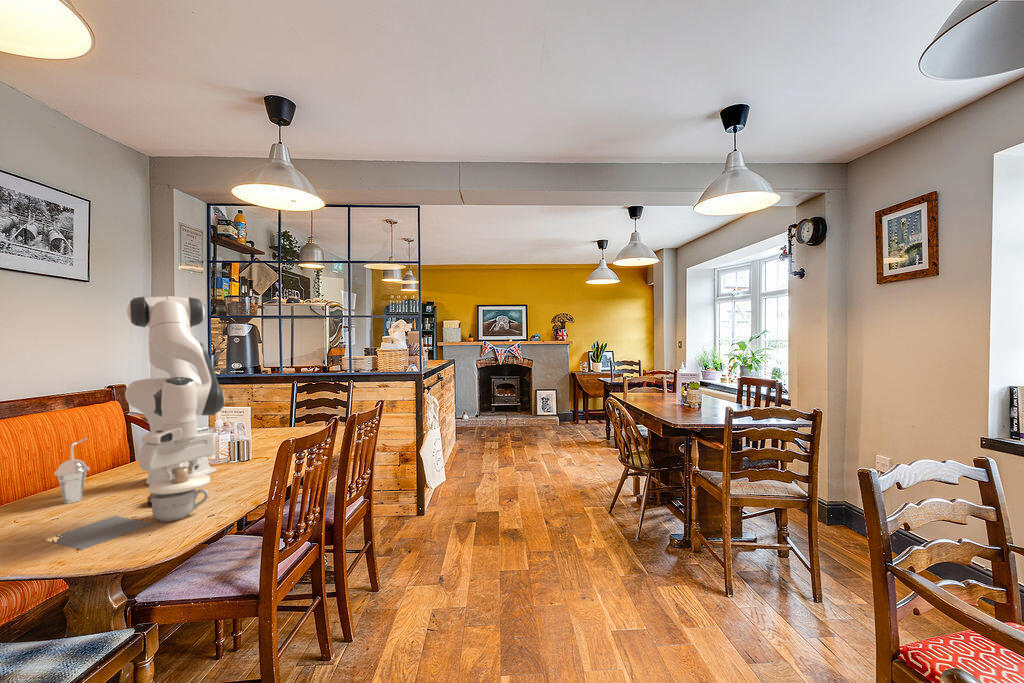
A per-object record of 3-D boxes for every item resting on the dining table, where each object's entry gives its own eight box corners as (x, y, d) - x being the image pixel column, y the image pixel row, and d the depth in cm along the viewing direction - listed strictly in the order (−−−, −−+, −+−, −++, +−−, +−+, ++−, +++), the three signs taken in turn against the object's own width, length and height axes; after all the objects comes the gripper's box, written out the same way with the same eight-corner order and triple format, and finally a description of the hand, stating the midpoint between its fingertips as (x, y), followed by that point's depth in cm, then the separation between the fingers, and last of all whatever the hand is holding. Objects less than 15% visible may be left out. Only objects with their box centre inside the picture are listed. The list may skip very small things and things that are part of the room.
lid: (187, 476, 146) (187, 460, 146) (221, 480, 141) (221, 464, 141) (136, 490, 132) (135, 473, 132) (171, 496, 127) (171, 478, 127)
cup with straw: (49, 503, 148) (48, 442, 148) (84, 494, 156) (84, 437, 156) (61, 507, 144) (60, 445, 144) (97, 498, 153) (96, 439, 152)
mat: (115, 517, 136) (115, 516, 136) (153, 525, 131) (153, 523, 131) (41, 541, 120) (41, 539, 120) (81, 551, 115) (81, 549, 115)
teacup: (143, 527, 129) (143, 499, 129) (162, 513, 140) (161, 487, 140) (199, 521, 133) (199, 494, 133) (213, 508, 143) (213, 483, 143)
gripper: (205, 424, 147) (206, 467, 147) (135, 437, 128) (135, 486, 128) (219, 426, 145) (220, 468, 145) (150, 439, 126) (150, 488, 126)
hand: (180, 477), depth 136 cm, fingers closed on lid, 4 cm apart
